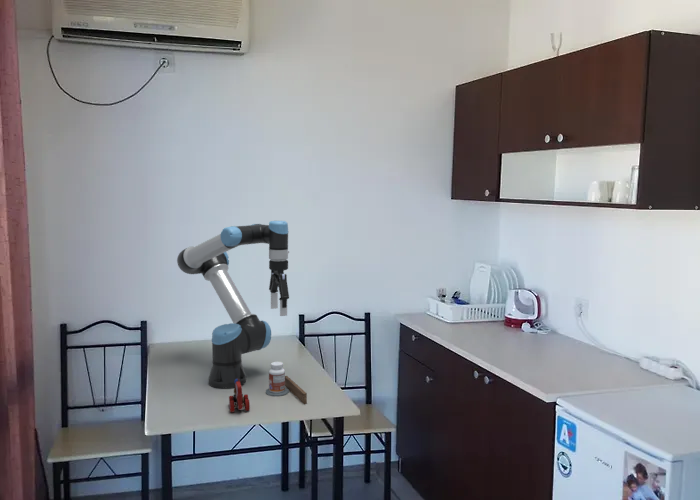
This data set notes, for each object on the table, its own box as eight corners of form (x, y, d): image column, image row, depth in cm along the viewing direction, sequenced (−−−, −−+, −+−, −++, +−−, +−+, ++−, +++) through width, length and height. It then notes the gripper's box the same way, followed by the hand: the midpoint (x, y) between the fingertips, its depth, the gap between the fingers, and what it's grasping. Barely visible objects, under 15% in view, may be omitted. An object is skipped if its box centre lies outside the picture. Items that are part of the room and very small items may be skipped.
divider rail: (303, 404, 228) (303, 393, 228) (284, 385, 248) (284, 376, 247) (306, 403, 229) (306, 393, 228) (286, 385, 248) (286, 375, 248)
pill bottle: (269, 388, 243) (269, 361, 242) (285, 387, 244) (284, 360, 242) (268, 393, 237) (268, 365, 236) (284, 393, 238) (284, 365, 236)
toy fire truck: (247, 401, 231) (247, 374, 229) (250, 413, 219) (249, 385, 217) (228, 403, 229) (228, 376, 228) (230, 415, 217) (230, 387, 216)
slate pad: (269, 397, 235) (269, 396, 234) (262, 390, 243) (262, 388, 243) (292, 394, 238) (292, 392, 238) (284, 386, 246) (284, 385, 246)
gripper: (297, 263, 234) (297, 318, 237) (279, 255, 257) (279, 304, 260) (278, 264, 231) (278, 319, 234) (261, 256, 254) (261, 306, 257)
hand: (278, 312), depth 247 cm, fingers open, 13 cm apart
